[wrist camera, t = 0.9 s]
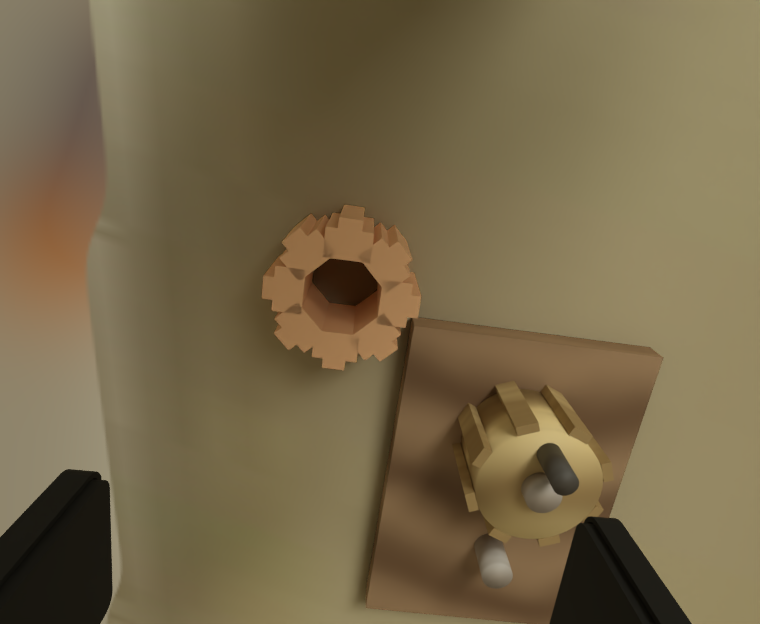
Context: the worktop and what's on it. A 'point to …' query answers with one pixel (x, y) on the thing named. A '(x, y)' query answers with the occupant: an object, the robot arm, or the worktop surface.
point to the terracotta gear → (338, 321)
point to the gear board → (434, 480)
